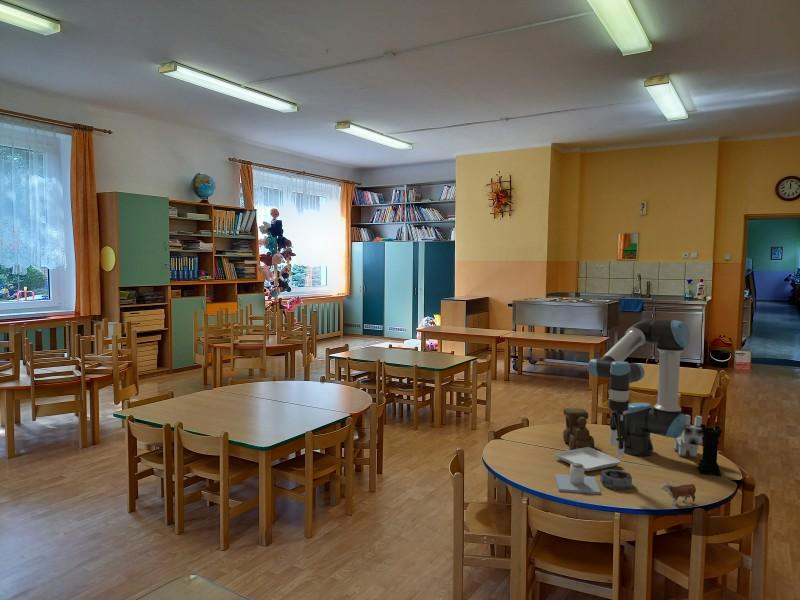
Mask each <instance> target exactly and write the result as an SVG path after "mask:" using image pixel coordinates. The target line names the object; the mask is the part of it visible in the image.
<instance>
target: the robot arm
mask: <svg viewBox="0 0 800 600" xmlns="http://www.w3.org/2000/svg"><path fill="white" fill-rule="evenodd" d="M690 341H691V335H690V329H689V326H688V325H687V323H685V321H682V320H676V319H665V318H664V319H662V318H661V319H660V318H647V319H643V320H640V321H638V322H636V323H635V324H633V325H631V326H630V327H629V328H627V329H626V331H625V332H624V336H622V337H621V338H620V339H619V340H617V342H616V343H615V344H614V345H613V346H612V347H611V348H610V349H609V350H608V351H607V352H606V353H604V355H603V356H602V357H601V358H591V359H590V360H589V362H588V366H587V369H588V374H589V375H591V376H594V377H598V378H604V379H609V390H607V393H608V396H609V397H608V398H609V399H608V409H610V410H611V415H610V421H609V427H610V436H609V446H612V447H616V457H620V458H621V457H623V458H624V457H625V454H628V455H632V456H640V457H641V456H643V457H644V456H648V457H649V456H652V455H653V454H654V445H653V442H652V439H651V434H653V435H654V434H655V435H658V436H663V437H666V438H672V439H674V438H678V437H679V436H680V435H681V434H682V433H683V431H684V428H685V424H686V416H685V415H686V414H685V415H684V413H682V407H680V405H679V391H680V390H679V387H680V386H679V385H680V369H681V368H680V366H681V364H680V363H681V353H683V352H684V351H685V348H686V347H688V346H689V344H690ZM644 344H655V345H656V346H655V349H656V350H657V351H658V353H659V355H658V356H659V358H658V359H659V362H658V385H657V403H656V404H654V405H652V404H651V403H648V402H631V403H629V402H630V401H629V400H630V384H631V383H637V382H639V381H641V380H642V379H643V378H644V376H645V369H644V367H643V365H642V364H639V363H637V362H631V363H629V362H628V361H625V360H626V359H627V358H628V357H629V356H630V355H631V354H632V353H634V351H635V350H636V349H637V348H638V347H642V346H643V345H644Z"/></svg>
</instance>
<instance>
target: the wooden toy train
mask: <svg viewBox="0 0 800 600" xmlns="http://www.w3.org/2000/svg"><path fill="white" fill-rule="evenodd" d="M563 415H564V416H565V427H566V428H564V429H563V433H562V435H563V436H562V437H563V441H564V443H566V444H568V445H569V449H570V450H574V449H579V448H585V447H590V448H593V449H595V439H594V437H593V436H592V435H590V434H591V433H590V430H589V429H588V428H587V426H586V425H587V423H588V421H587V420H588V419H589V412H588V411H587V410H586V409H584V408H579V407H565V408H563Z"/></svg>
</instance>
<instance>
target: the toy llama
mask: <svg viewBox="0 0 800 600" xmlns="http://www.w3.org/2000/svg"><path fill="white" fill-rule="evenodd" d="M683 414H684V413H683ZM684 415H685V416H686V424H685V428H684V431H683V433H682V434H681V435H680V436H679V437H678V438H673V439H674V440H673V450H674V452H677V454H678V456H679V457H683V458H684V457H686V456H687V455H686V454H687V453H689V454H688V455H689V457H690V458H698V450H699V449H698V447H699V446H702V447H703V439H702V437H703V436H704V435H703V433H702V432H701V429H702V428H701V427H700V425H701V424H703V417H702V416H701V415H694V418H693V419H694V421H693V425H691V420H692V419H691V415H690V414H686V413H685V414H684Z"/></svg>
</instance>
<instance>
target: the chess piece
mask: <svg viewBox="0 0 800 600" xmlns="http://www.w3.org/2000/svg"><path fill="white" fill-rule="evenodd" d="M700 427H701V428H702V429H701V432H702V433H703V437H702V459H699V463H698V466H697V467H696V468H697V470H698V473H699V474H700V475H707V476H713V475H714V476H716V477H722V474H721V469H720V466H719V464H718V447H719V446H718V445H719V444H720V442H719V438H721V435H722V434H723V430H722V429H721V427H720V425H714V427H706V424H704V423H702V424H701V425H700Z"/></svg>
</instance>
